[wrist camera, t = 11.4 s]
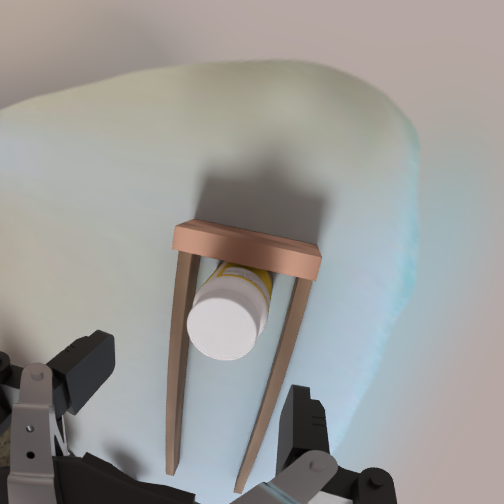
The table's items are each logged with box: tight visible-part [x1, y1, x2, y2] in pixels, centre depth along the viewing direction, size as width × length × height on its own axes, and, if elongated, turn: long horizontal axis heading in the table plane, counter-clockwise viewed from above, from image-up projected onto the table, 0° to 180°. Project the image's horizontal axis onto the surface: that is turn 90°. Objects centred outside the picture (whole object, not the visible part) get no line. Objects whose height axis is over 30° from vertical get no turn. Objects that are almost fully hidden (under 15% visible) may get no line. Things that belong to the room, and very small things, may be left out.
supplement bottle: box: [187, 261, 273, 360], centre depth 20 cm, size 5×5×8 cm
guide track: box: [166, 219, 322, 494], centre depth 25 cm, size 10×32×4 cm, turn 169°
